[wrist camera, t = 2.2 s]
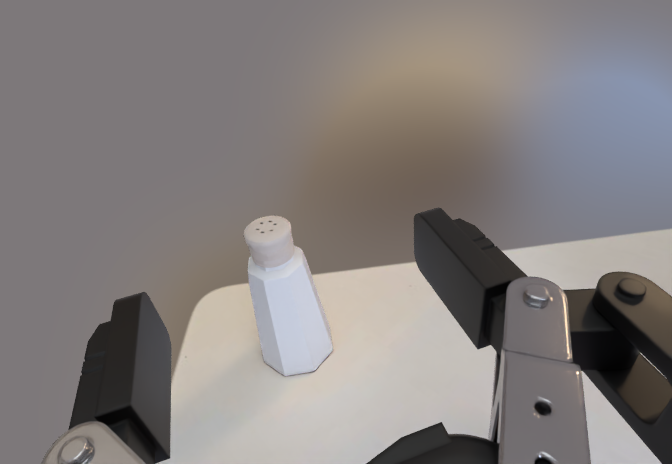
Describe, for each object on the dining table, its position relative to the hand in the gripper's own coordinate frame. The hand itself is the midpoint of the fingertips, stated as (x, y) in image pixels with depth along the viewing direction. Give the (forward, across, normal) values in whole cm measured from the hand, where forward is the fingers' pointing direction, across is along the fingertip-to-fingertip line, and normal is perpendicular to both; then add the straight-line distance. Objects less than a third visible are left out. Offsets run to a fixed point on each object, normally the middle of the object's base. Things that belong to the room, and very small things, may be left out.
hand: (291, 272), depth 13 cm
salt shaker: (+11, 0, +17) cm, 20 cm away
